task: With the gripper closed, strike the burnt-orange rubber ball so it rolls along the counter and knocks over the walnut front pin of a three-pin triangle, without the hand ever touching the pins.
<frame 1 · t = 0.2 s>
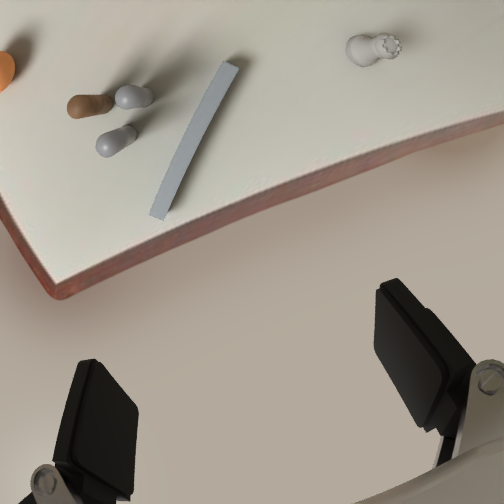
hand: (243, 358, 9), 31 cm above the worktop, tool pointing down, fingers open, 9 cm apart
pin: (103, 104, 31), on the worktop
grey rectangular bar: (190, 139, 35), on the worktop
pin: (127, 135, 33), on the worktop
rook chess piece: (358, 51, 32), on the worktop
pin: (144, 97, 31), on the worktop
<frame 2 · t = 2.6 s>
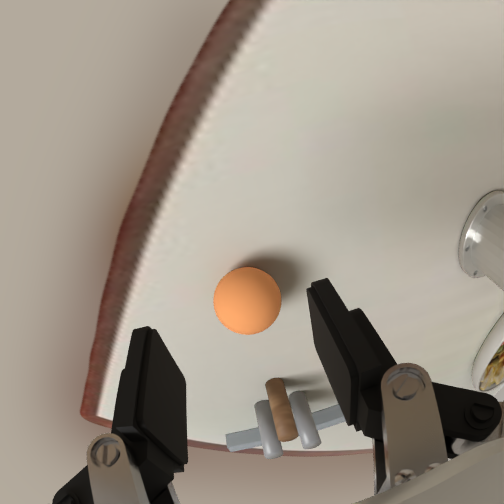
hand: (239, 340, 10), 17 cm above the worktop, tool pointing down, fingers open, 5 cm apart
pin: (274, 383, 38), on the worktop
grey rectangular bar: (287, 423, 44), on the worktop
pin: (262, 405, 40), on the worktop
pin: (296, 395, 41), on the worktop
ball: (247, 300, 27), on the worktop
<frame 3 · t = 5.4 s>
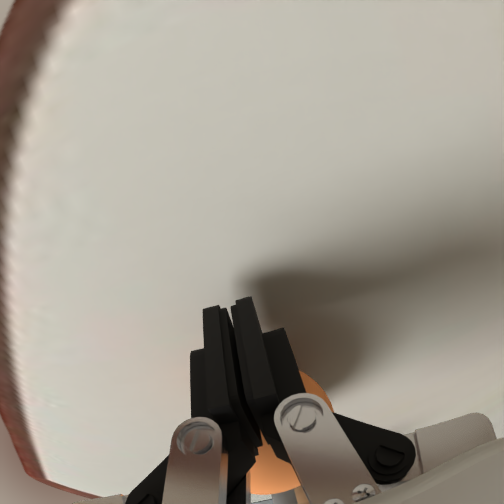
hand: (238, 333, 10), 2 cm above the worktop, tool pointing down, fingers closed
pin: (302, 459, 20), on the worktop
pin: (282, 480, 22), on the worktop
ball: (264, 429, 11), on the worktop
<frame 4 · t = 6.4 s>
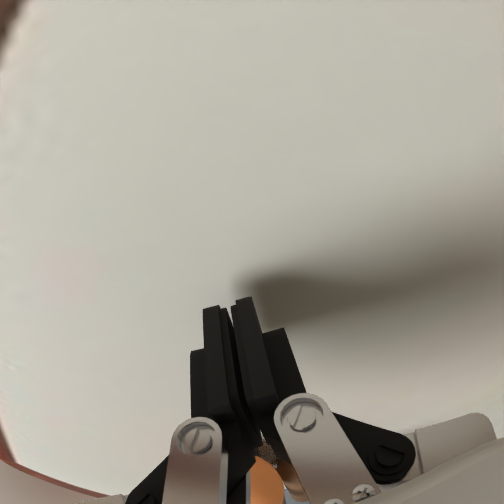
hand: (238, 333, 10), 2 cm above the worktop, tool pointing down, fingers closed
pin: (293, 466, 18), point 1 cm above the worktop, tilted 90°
ball: (237, 492, 15), on the worktop
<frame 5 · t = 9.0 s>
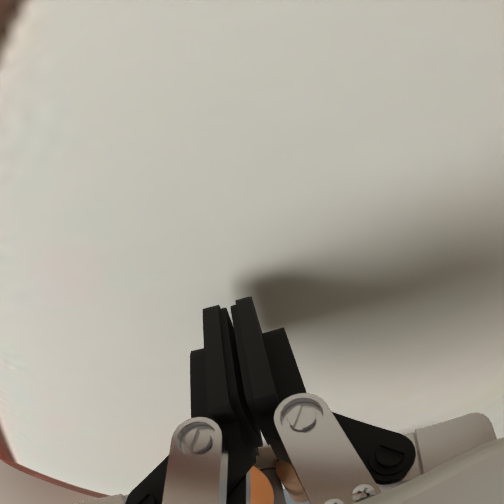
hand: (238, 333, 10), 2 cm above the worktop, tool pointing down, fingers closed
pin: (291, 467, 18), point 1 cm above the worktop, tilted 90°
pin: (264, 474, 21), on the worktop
ball: (229, 497, 16), on the worktop
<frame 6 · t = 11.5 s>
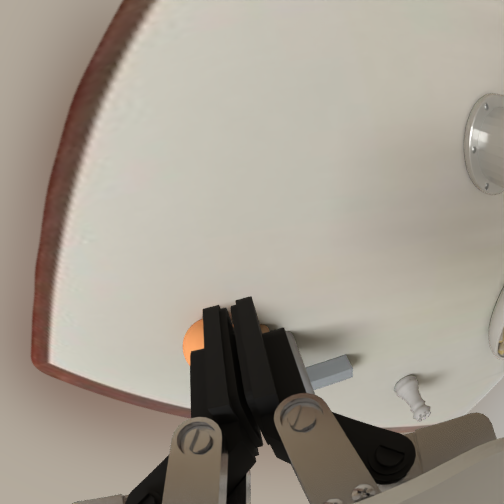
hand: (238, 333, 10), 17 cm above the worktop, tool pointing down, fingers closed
grey rectangular bar: (273, 381, 38), on the worktop
rook chess piece: (403, 381, 45), on the worktop
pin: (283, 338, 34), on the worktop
ball: (213, 347, 30), on the worktop
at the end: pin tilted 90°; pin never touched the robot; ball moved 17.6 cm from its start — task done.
